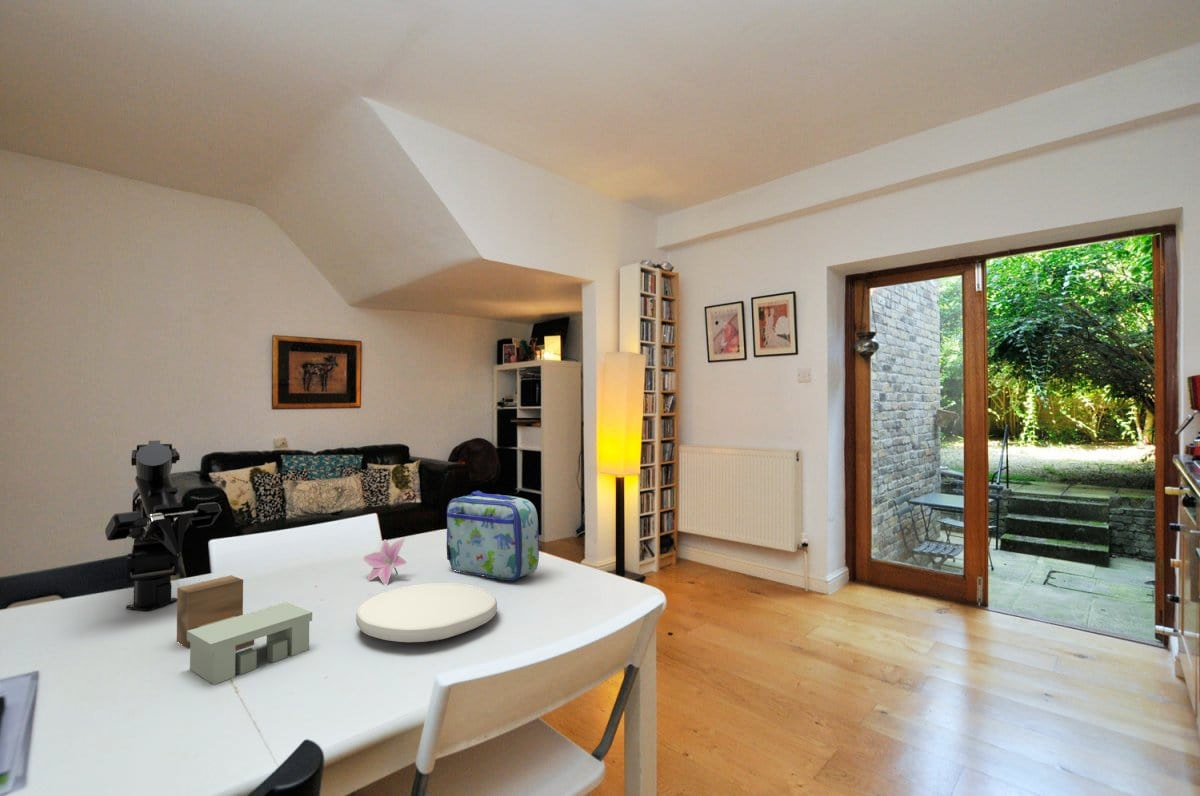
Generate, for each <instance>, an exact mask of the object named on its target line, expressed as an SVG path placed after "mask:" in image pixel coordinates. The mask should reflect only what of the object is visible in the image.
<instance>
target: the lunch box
mask: <svg viewBox="0 0 1200 796" xmlns="http://www.w3.org/2000/svg"><path fill="white" fill-rule="evenodd" d="M539 533H540V532H539V519H538V512H537V509H536V507H535V505H534V504H533V502H532V501H530V500H529V499H526V498H523V497H519V496H512V495H503V494H491V493H484V492H482V491H480V490H476V491H472V492H471V494H468V495H463V496H460V497H454V498H452V499H451V500H450V501H449V502H448V505H447V508H446V557H447V558H446V559H447V561H448V562H449V566H450V568H451V569H452V571H453V570H456V571H460V572H465V573H464V574H469V575H474V574H475V576H479V575H484V576H488V577H487V578H490V577H493V578H492V579H495V578H498V579H497V580H501V581H508V582H509V581H511V582H515V581H516V580H518V579H519V578H521V577H525V576H527V575H530V574H533V573H534V572H535V571H536V570H537V569H538V566H539V560H540V559H539V557H540V555H539V554H540V546H539V545H540V536H539ZM460 572H459V573H460ZM484 576H483V577H484Z"/></svg>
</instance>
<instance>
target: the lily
mask: <svg viewBox="0 0 1200 796" xmlns="http://www.w3.org/2000/svg"><path fill="white" fill-rule="evenodd" d="M405 541H406V538H405V537H403V538H401V539H399V540H396V541H395V542H394V543H392V544H391V545H390V543H389V542H388V541H387V539H383V541H382V544H381V545H380V550H379V551H375V552H371V553H369V554H366V555H364V556H363V557H362V560H363V562H365V563H366V564H367V565H368V566H369V567H372V570H371V571H370V573H369V574H368V577H367V580H366V582H370V581H372V580H373V579H374V578H376V577H379V579H380V580H381V582H382V584H383V585H384V584H387V585H388V584H389V582H390V577H391V575H392V573H393V570H394V572H395V574H396V575H398V571H397V568H398V567H402V566H405V565H407V564H408V563H407V561H406V559H404V558H403V557H401V556H399V553H400V551H401V549H402V547H403V545H404V543H405Z"/></svg>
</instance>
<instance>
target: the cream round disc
mask: <svg viewBox="0 0 1200 796" xmlns="http://www.w3.org/2000/svg"><path fill="white" fill-rule="evenodd" d="M497 610H498V601H497V598H496V597H495V595H494V594H493V592H490V591H488V590H486V589H485V588H482V587H480V586H476V585H474V584H467V583H461V582H432V583H431V582H430V583H421V584H420V583H419V584H414V585H408V586H402V587H398V588H394V589H390V590H387V591H385V592H382V593H379V594H376V595H374V596H373V597H370V598H369V599H367V600H366V601H364V602H363V603H362V604H361V605H360V606H359V607H358V609H357V610H356V615H355V617H356V618H355V620H356V621H355V622H356V625H357V627H358V628H359V630H360V631H361V632H362V633H364V634H366V635H367V636H369V637H373V638H377V639H380V640H384V641H391V642H399V643H426V642H433V641H439V640H440V641H441V640H445V639H449V638H451V637H455V636H458V635H461V634H464V633H466V632H469V631H472V630H473V629H476V628H478V627H481V626H482V625H485V624H486V623H488V622H489V621H491V620H492V619H493V618H494V616H495V615H496V613H497Z"/></svg>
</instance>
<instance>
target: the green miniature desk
mask: <svg viewBox="0 0 1200 796" xmlns="http://www.w3.org/2000/svg"><path fill="white" fill-rule="evenodd" d="M312 621H313V611H310V610H308V609H305V608H302V607H300V606H297V605H295V604H292V603H290V602H287V601H286V602H283V603H279V604H276V605H272V606H269V607H265V608H261V609H258V610H255V611H252V612H248V613H243V615H240V616H237V617H233V618H230V619H226V620H223V621H220V622H216V623H213V624H209V625H206V626H202V627H199V628H195V629H192V630H188V631H187V640H188V641H189V642H190V648H189V650H190V651H189V670H190V671H192V672H193V673H195V674H196V675H199V676H200V677H201V678H202V679H204V680H206V681H208V683H210V684H212V685H217V684H219V683H222V682H225V681H227V680H230V679H233V678H235V677H236V674H238V675H240V676H241V675H244V674H246V673H249V672H253V671H254V670H257V658H258V657H257V656H258V655H257V650H256V649H254V648H253V647H249V648H247V649H243V650H240V651H238V652H236V650H235V646H236V645H239V644H242V643H245V642H248V641H251V640H254V641H255V640H257V639H260V638H263V637H266V646H267V647H266V661H268V662H271V663H273V664H274V663H276V662H279V661H282V660H284V659H287V658H288V655H290V656H292V657H293V656H295V655H298V654H300V653H304V652H306V651H309V650H310V622H312Z"/></svg>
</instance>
